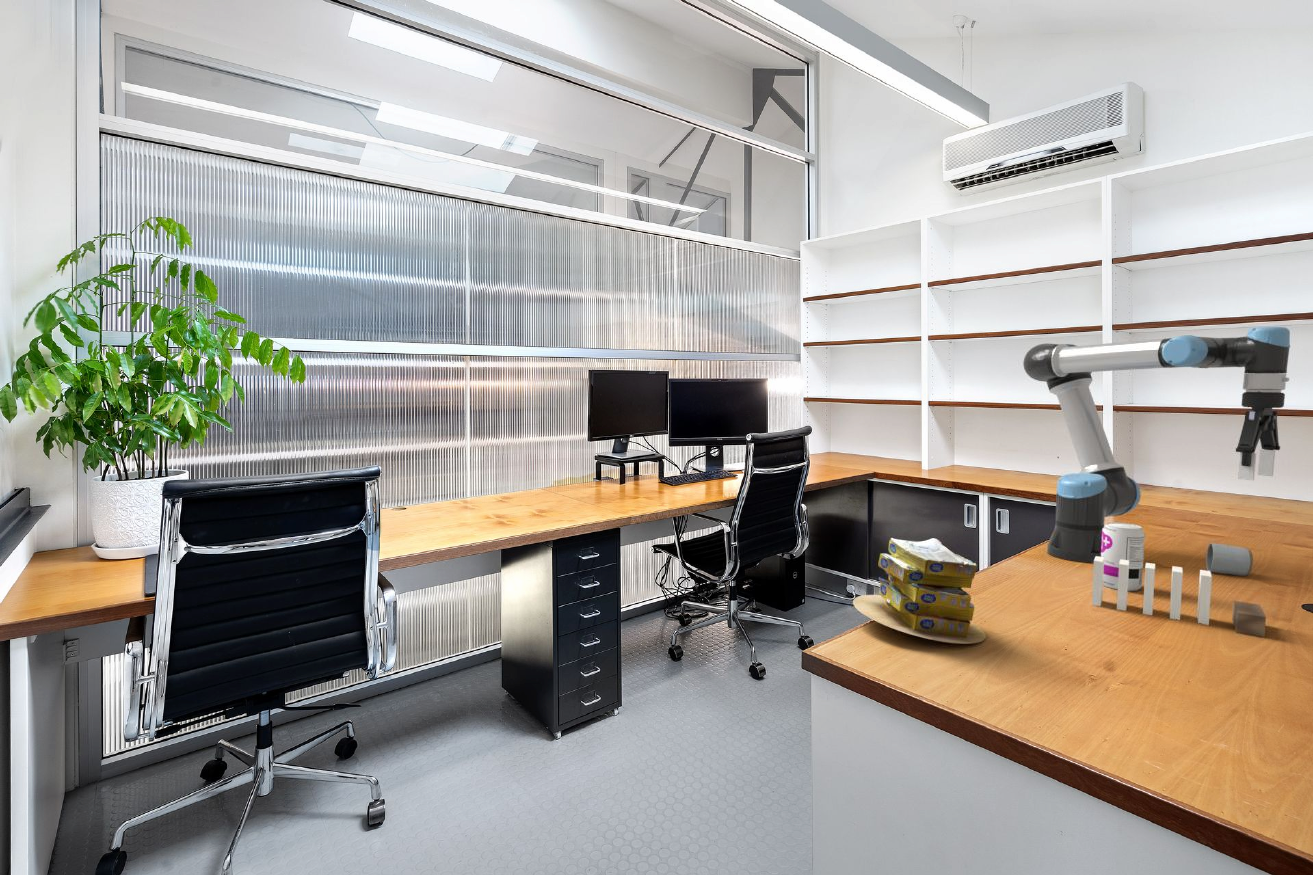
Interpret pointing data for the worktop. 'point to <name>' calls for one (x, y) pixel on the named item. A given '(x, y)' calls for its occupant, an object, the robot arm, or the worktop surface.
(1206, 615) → the domino
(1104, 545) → the supplement can
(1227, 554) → the ceramic mug
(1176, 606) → the domino
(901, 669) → the worktop surface
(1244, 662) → the worktop surface
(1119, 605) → the domino
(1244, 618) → the end block
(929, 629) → the plate with stacked boxes
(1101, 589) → the domino
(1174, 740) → the worktop surface
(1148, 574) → the domino
